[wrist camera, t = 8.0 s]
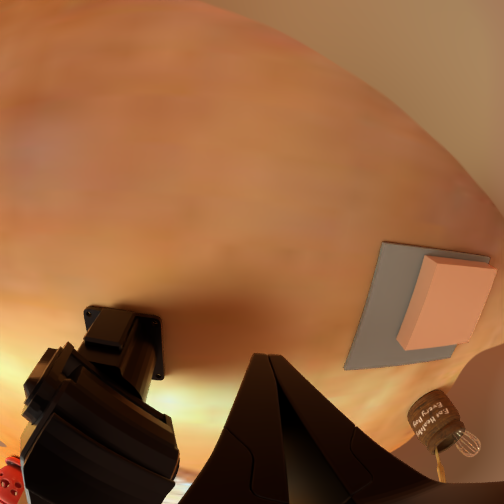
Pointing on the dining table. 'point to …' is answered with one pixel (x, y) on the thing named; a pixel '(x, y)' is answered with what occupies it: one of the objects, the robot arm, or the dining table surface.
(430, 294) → the block
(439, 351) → the slate mat
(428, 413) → the utensil holder
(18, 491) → the plant pot
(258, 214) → the dining table surface
